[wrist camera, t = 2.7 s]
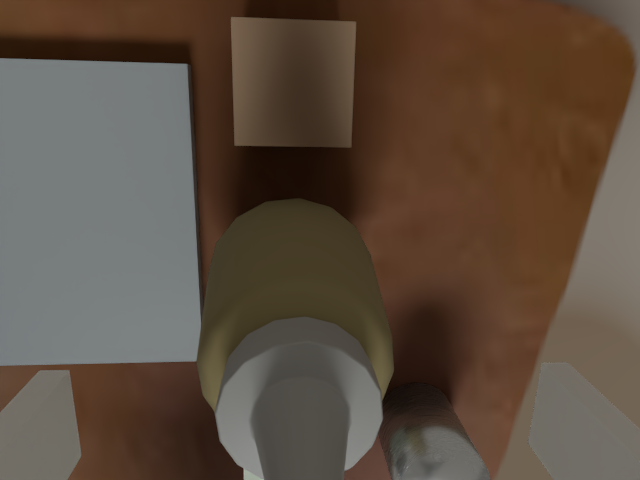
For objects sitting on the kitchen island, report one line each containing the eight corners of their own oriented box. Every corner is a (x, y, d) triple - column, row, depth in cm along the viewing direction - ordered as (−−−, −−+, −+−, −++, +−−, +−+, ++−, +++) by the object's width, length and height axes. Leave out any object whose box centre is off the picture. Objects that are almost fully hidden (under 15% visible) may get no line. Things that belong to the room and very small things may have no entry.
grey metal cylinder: (373, 450, 31) (394, 530, 25) (377, 383, 29) (400, 451, 24) (447, 447, 31) (484, 525, 25) (454, 381, 30) (496, 448, 24)
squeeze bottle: (221, 178, 25) (87, 342, 8) (369, 191, 26) (547, 365, 9) (215, 316, 27) (100, 685, 10) (351, 324, 28) (466, 677, 11)
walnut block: (243, 137, 25) (234, 145, 20) (241, 35, 23) (230, 16, 18) (337, 139, 25) (351, 147, 20) (340, 38, 24) (356, 21, 19)
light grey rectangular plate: (-121, 359, 26) (-136, 368, 25) (-203, 53, 22) (-225, 51, 21) (205, 352, 28) (203, 361, 27) (191, 65, 23) (187, 63, 22)
